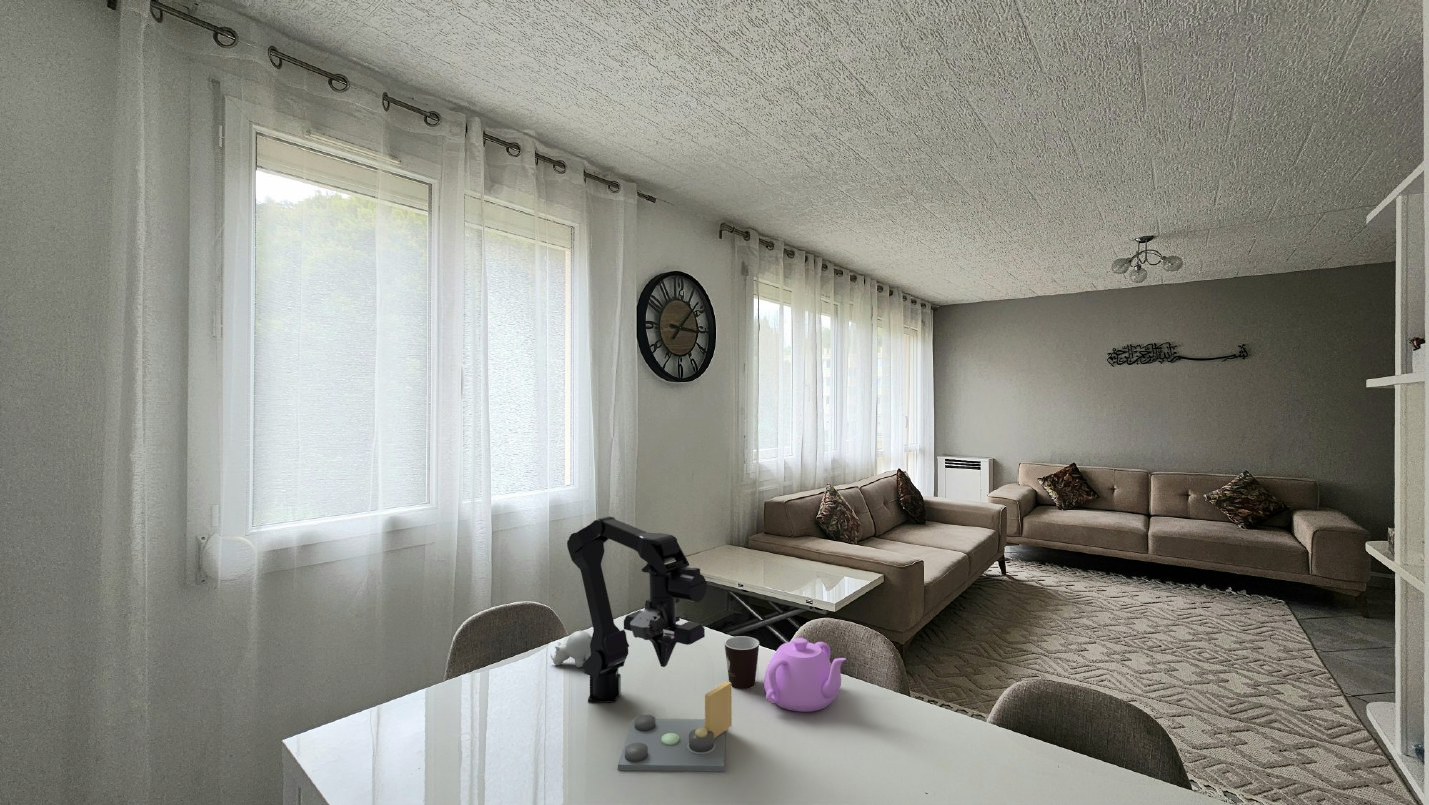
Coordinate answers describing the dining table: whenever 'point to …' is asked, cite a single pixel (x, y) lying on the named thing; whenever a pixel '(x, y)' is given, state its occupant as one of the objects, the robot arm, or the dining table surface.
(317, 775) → the dining table surface
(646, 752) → the plate
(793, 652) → the teapot
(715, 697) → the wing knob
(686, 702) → the dining table surface
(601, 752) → the dining table surface
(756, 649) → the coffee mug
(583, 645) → the round bodied animal figurine
